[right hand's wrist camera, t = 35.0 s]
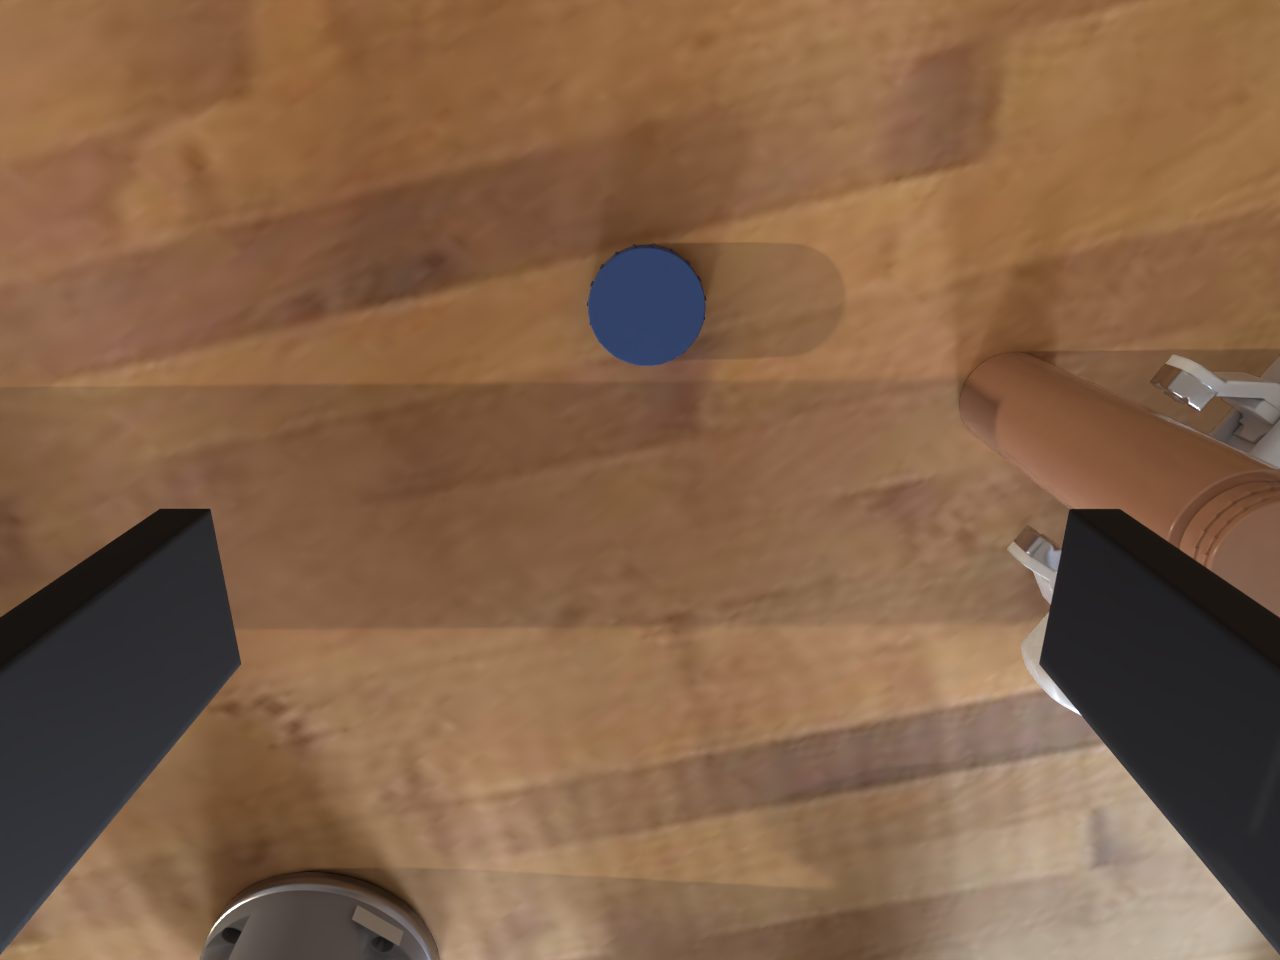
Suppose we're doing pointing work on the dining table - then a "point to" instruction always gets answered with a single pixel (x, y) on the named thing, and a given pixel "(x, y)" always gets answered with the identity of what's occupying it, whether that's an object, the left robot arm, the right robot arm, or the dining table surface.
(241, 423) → the dining table surface
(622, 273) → the lid
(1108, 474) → the jar
